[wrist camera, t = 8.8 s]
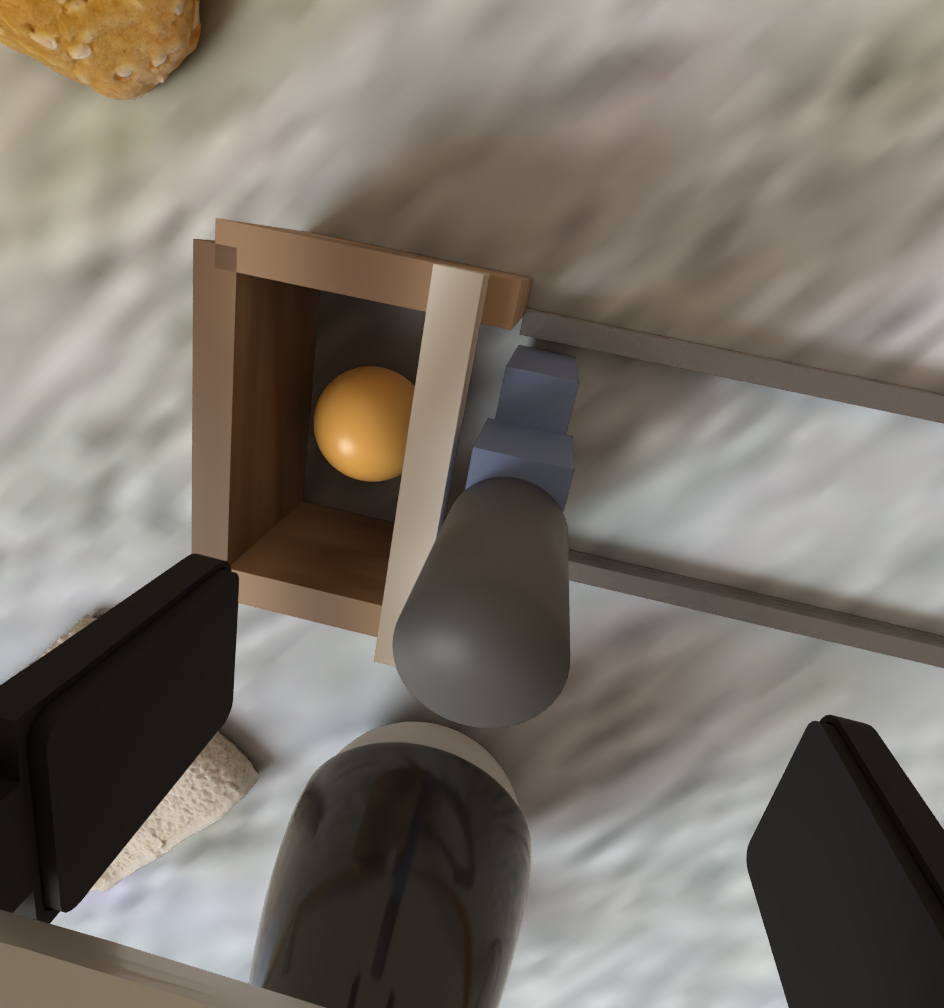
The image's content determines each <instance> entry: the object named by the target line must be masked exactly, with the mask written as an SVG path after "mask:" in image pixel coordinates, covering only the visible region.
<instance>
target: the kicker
mask: <svg viewBox="0 0 944 1008" xmlns="http://www.w3.org/2000/svg"><path fill="white" fill-rule="evenodd" d="M578 384H579V377H578V370H577V362H576V357H574V356H569V355H564V354H560V353H555V352H550V351H545V350H541V349H536V348H531V347H526V346H522V345H519V346H518V347H517V349H516V351H515V352H514V354H513V356H512V357H511V359H510V361H509V362H508V364H507V366H506V369H505V374H504V379H503V384H502V389H501V394H500V399H499V403H498V408H497V413H496V418H495V419H490V418H488V419H487V421H486V423H485V425H484V427H483V429H482V431H481V433H480V435H479V437H478V439H477V441H476V443H475V445H474V447H473V451H472V456H471V461H470V466H469V472H468V477H467V482H466V487H465V491H464V492H463V493H462V494H460V495H459V497H458V498H457V499H456V500H455V502H454V503H453V505H452V507H451V509H450V511H449V513H448V515H447V517H446V519H445V521H444V523H443V526H442V528H441V530H440V532H439V534H438V536H437V538H436V540H435V542H434V544H433V547H432V549H431V551H430V553H429V555H428V557H427V559H426V561H425V563H424V566H423V568H422V570H421V572H420V574H419V576H418V578H417V580H416V582H415V584H414V587H413V589H412V591H411V593H410V595H409V597H408V599H407V601H406V603H405V606H404V608H403V610H402V612H401V614H400V616H399V618H398V621H397V623H396V626H395V629H394V634H393V642H392V648H393V657H394V662H395V665H396V668H397V671H398V673H399V675H400V677H401V679H402V681H403V683H404V684H405V686H406V687H407V688H408V690H409V691H410V692H411V693H412V695H413V696H414V697H415V698H416V699H417V700H418V701H419V702H421V703H422V704H423V705H424V706H425V707H427V708H428V709H430V710H431V711H432V712H434V713H436V714H438V715H439V716H441V717H443V718H445V719H448V720H450V721H452V722H456V723H459V724H462V725H466V726H471V727H478V728H501V727H508V726H512V725H516V724H520V723H522V722H525V721H528V720H530V719H532V718H534V717H536V716H537V715H539V714H540V713H542V712H543V711H545V710H546V709H547V708H548V707H549V706H550V705H551V704H552V703H553V702H554V701H555V700H556V698H557V697H558V696H559V695H560V693H561V691H562V689H563V688H564V686H565V683H566V680H567V678H568V673H569V669H570V616H569V558H568V528H567V523H566V519H565V517H564V514H563V511H564V507H565V504H566V500H567V496H568V492H569V489H570V485H571V481H572V477H573V474H574V470H575V469H574V451H573V436H568V435H566V431H567V428H568V424H569V420H570V416H571V412H572V408H573V404H574V400H575V396H576V392H577V388H578Z"/></svg>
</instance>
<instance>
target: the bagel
mask: <svg viewBox="0 0 944 1008" xmlns="http://www.w3.org/2000/svg"><path fill="white" fill-rule="evenodd" d="M199 4H200V0H0V42H2V43H3V44H5V45H6V46H8V47H10V48H12V49H14V50H16V51H18V52H20V53H22V54H26V55H28V56H30V57H32V58H34V59H36V60H38V61H40V62H41V63H43V64H45V65H47V66H49V67H50V68H52V69H53V70H54V71H56V72H58V73H60V74H62V75H64V76H66V77H68V78H70V79H72V80H74V81H76V82H79V83H81V84H83V85H87V86H91V87H93V88H94V89H95V90H96V91H97V92H99V93H101V94H103V95H105V96H108V97H111V98H114V99H119V100H135V99H139V98H141V97H142V96H143V95H144V94H146V93H147V92H149V91H150V90H152V89H153V88H154V87H155V86H156V85H157V84H159V83H163V82H164V81H165V80H166V79H167V78H168V76H169V74H170V73H171V72H172V71H173V70H175V69H176V68H177V67H178V66H179V65H180V64H181V63H182V62H183V60H184V59H185V58H186V56H187V55H189V54H190V53H191V52H193V51H194V50H195V49H196V47H197V43H198V40H199V37H200V33H201V24H200V19H199V16H200V14H199Z"/></svg>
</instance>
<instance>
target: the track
mask: <svg viewBox="0 0 944 1008" xmlns="http://www.w3.org/2000/svg"><path fill="white" fill-rule="evenodd" d="M520 335H525V336H529V337H534V338H539V339H544V340H548V341H553V342H558V343H563V344H568V345H572V346H577V347H582V348H587V349H591V350H596V351H601V352H606V353H610V354H615V355H620V356H625V357H630V358H634V359H639V360H644V361H649V362H653V363H658V364H663V365H668V366H672V367H677V368H682V369H687V370H692V371H696V372H701V373H706V374H711V375H715V376H720V377H725V378H730V379H734V380H739V381H744V382H749V383H754V384H758V385H763V386H768V387H773V388H777V389H782V390H787V391H792V392H796V393H801V394H806V395H811V396H816V397H820V398H825V399H830V400H835V401H839V402H844V403H849V404H854V405H859V406H863V407H868V408H873V409H878V410H882V411H887V412H892V413H897V414H901V415H906V416H911V417H916V418H921V419H925V420H930V421H935V422H940V423H944V394H939V393H934V392H929V391H925V390H920V389H915V388H910V387H905V386H900V385H896V384H891V383H886V382H881V381H876V380H871V379H867V378H862V377H857V376H852V375H847V374H842V373H837V372H833V371H828V370H823V369H818V368H813V367H808V366H804V365H799V364H794V363H789V362H784V361H779V360H775V359H770V358H765V357H760V356H755V355H750V354H746V353H741V352H736V351H731V350H726V349H721V348H717V347H712V346H707V345H702V344H697V343H692V342H688V341H683V340H678V339H673V338H668V337H663V336H659V335H654V334H649V333H644V332H639V331H634V330H629V329H625V328H620V327H615V326H610V325H605V324H600V323H596V322H591V321H586V320H581V319H576V318H571V317H567V316H562V315H557V314H552V313H547V312H542V311H538V310H533V309H528V308H526V309H525V310H524V315H523V320H522V325H521V329H520ZM568 558H569V580H571V581H575V582H579V583H583V584H588V585H592V586H596V587H600V588H605V589H609V590H613V591H618V592H622V593H626V594H630V595H635V596H639V597H643V598H647V599H652V600H656V601H660V602H664V603H669V604H673V605H677V606H681V607H686V608H690V609H694V610H699V611H703V612H707V613H711V614H716V615H720V616H724V617H728V618H733V619H737V620H741V621H745V622H750V623H754V624H758V625H763V626H767V627H771V628H775V629H780V630H784V631H788V632H792V633H797V634H801V635H805V636H809V637H814V638H818V639H822V640H827V641H831V642H835V643H839V644H844V645H848V646H852V647H856V648H861V649H865V650H869V651H873V652H878V653H882V654H886V655H891V656H895V657H899V658H903V659H908V660H912V661H916V662H920V663H925V664H929V665H933V666H937V667H942V668H944V636H940V635H935V634H931V633H927V632H922V631H918V630H914V629H909V628H905V627H901V626H897V625H892V624H888V623H884V622H879V621H875V620H871V619H866V618H862V617H858V616H853V615H849V614H845V613H840V612H836V611H832V610H827V609H823V608H819V607H814V606H810V605H806V604H801V603H797V602H793V601H788V600H784V599H780V598H775V597H771V596H767V595H762V594H758V593H754V592H749V591H745V590H741V589H736V588H732V587H728V586H724V585H719V584H715V583H711V582H706V581H702V580H698V579H693V578H689V577H685V576H680V575H676V574H672V573H667V572H663V571H659V570H654V569H650V568H646V567H641V566H637V565H633V564H628V563H624V562H620V561H615V560H611V559H607V558H602V557H598V556H594V555H589V554H585V553H581V552H576V551H572V550H568Z"/></svg>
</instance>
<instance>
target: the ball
mask: <svg viewBox="0 0 944 1008" xmlns="http://www.w3.org/2000/svg"><path fill="white" fill-rule="evenodd" d="M414 390H415V386H414V385H413V384H412V383H411V382H410V381H409V380H408V379H406V378H405V377H404V376H402V375H400V374H399V373H397V372H395V371H393V370H390V369H387V368H382V367H377V366H365V367H358V368H354V369H351V370H348V371H346V372H344V373H342V374H340V375H339V376H337V377H336V378H335V379H333V380H332V381H331V382H330V383H329V384H328V385H327V386H326V388H325V389H324V390H323V392H322V394H321V395H320V397H319V399H318V402H317V404H316V407H315V412H314V423H313V424H314V433H315V438H316V441H317V444H318V446H319V448H320V450H321V452H322V454H323V455H324V457H325V458H326V459H327V461H328V462H329V463H330V464H331V465H332V466H333V467H335V468H336V469H337V470H338V471H340V472H341V473H343V474H345V475H346V476H349V477H351V478H354V479H357V480H361V481H369V482H378V481H384V480H389V479H392V478H395V477H397V476H399V475H401V474H402V470H403V463H404V457H405V450H406V443H407V437H408V430H409V423H410V417H411V410H412V403H413V396H414Z"/></svg>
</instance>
